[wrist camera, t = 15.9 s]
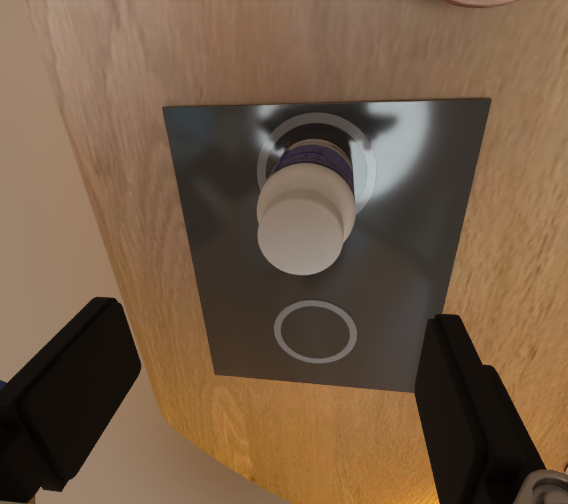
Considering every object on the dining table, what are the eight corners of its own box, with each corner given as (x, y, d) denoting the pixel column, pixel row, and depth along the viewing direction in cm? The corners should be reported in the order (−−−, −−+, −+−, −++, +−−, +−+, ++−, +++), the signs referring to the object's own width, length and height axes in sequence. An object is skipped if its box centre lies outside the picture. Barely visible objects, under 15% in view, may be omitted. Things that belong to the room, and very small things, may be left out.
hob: (215, 372, 35) (214, 375, 35) (163, 106, 23) (161, 107, 23) (422, 391, 32) (423, 395, 32) (490, 98, 20) (492, 99, 20)
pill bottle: (270, 141, 23) (233, 186, 15) (352, 133, 22) (357, 178, 14) (280, 216, 25) (253, 287, 18) (354, 212, 24) (359, 286, 17)
